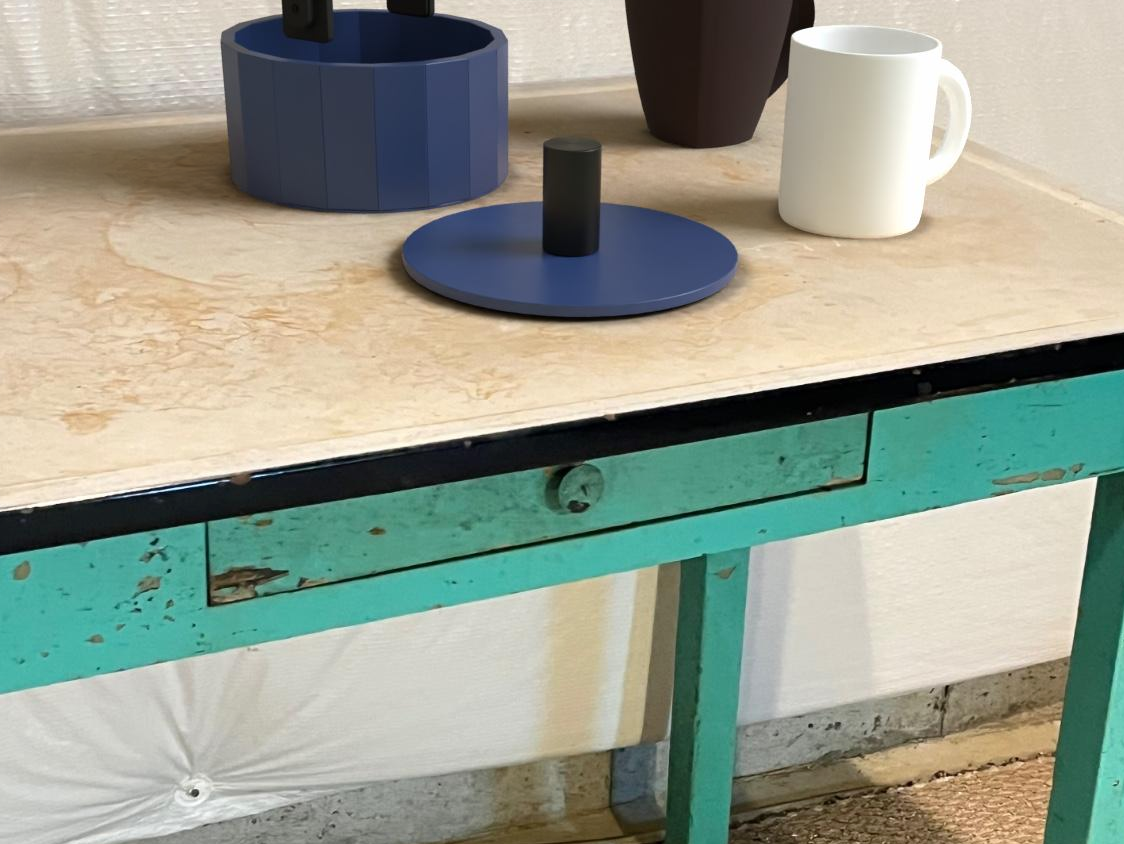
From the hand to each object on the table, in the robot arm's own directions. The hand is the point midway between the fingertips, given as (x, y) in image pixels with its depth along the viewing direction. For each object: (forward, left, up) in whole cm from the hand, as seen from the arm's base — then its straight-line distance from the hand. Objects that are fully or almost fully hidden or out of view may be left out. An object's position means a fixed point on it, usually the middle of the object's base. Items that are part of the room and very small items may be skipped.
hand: (361, 26), depth 99 cm
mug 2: (+29, +10, -9) cm, 32 cm away
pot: (0, 0, -9) cm, 9 cm away
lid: (+19, -8, -8) cm, 22 cm away
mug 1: (+13, +22, -9) cm, 27 cm away
